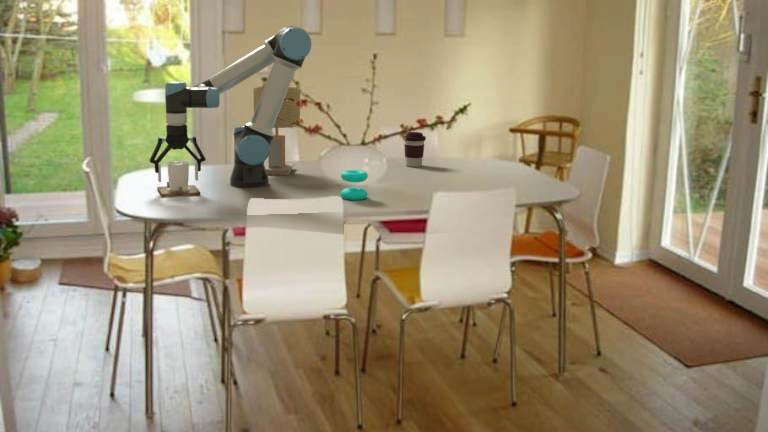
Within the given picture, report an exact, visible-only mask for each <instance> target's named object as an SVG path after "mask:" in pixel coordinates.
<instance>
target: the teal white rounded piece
mask: <svg viewBox="0 0 768 432" xmlns="http://www.w3.org/2000/svg"><path fill="white" fill-rule="evenodd" d="M340 177H341V179H342V180H343V181H344V182H346V183H347V182H348V183H362V182H365V181H366V180H367V179H368V178H369V174H368V173H367V172H366V171H365V170H361V169H346V170H344V171H343V170H342V172H341V173H340ZM340 196H341V198H342V199H344V200H346V201H347V200H349V201H361V200H365V199H366V198H367V197H368V191H367V190H366V189H365V188H361V187H357V186H355V187H354V186H353V187H351V186H350V187H346V188H344V189H342V190H341V192H340Z"/></svg>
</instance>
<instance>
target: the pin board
mask: <svg viewBox="0 0 768 432" xmlns="http://www.w3.org/2000/svg"><path fill="white" fill-rule="evenodd" d="M156 190H157V191H158V193H159V195H160V197H161V198H175V197H196V196H201V191H200V190H199V188H198V187H197V186H196V185H194V184H188V189H187V190H183V187H179V191H177V190H170V188H169V181H167V182H166V186H157V189H156Z"/></svg>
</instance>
